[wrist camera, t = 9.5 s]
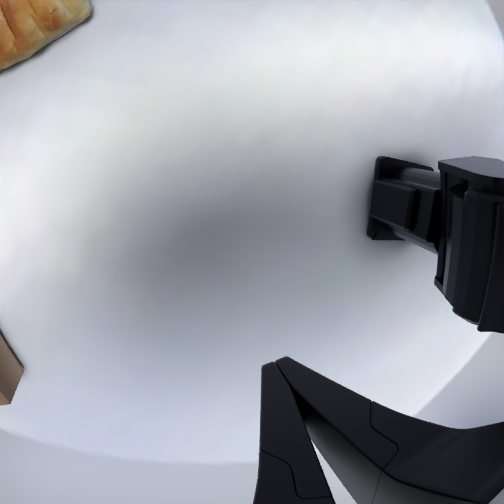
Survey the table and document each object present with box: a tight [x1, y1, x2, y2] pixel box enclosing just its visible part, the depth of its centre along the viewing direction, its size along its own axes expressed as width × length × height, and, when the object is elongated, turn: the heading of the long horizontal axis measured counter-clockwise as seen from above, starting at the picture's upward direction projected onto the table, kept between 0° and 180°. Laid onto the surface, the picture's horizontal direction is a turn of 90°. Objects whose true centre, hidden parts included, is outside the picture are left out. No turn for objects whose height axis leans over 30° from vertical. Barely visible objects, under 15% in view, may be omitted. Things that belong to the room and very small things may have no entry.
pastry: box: [0, 0, 92, 70], centre depth 10 cm, size 9×7×4 cm
